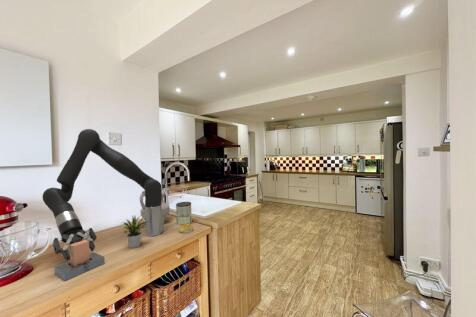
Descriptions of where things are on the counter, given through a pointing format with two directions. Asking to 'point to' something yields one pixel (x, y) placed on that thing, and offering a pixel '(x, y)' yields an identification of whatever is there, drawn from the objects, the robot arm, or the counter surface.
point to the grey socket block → (78, 267)
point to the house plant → (134, 232)
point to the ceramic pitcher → (164, 205)
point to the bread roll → (185, 228)
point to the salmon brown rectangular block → (79, 253)
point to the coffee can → (183, 213)
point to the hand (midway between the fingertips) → (81, 254)
